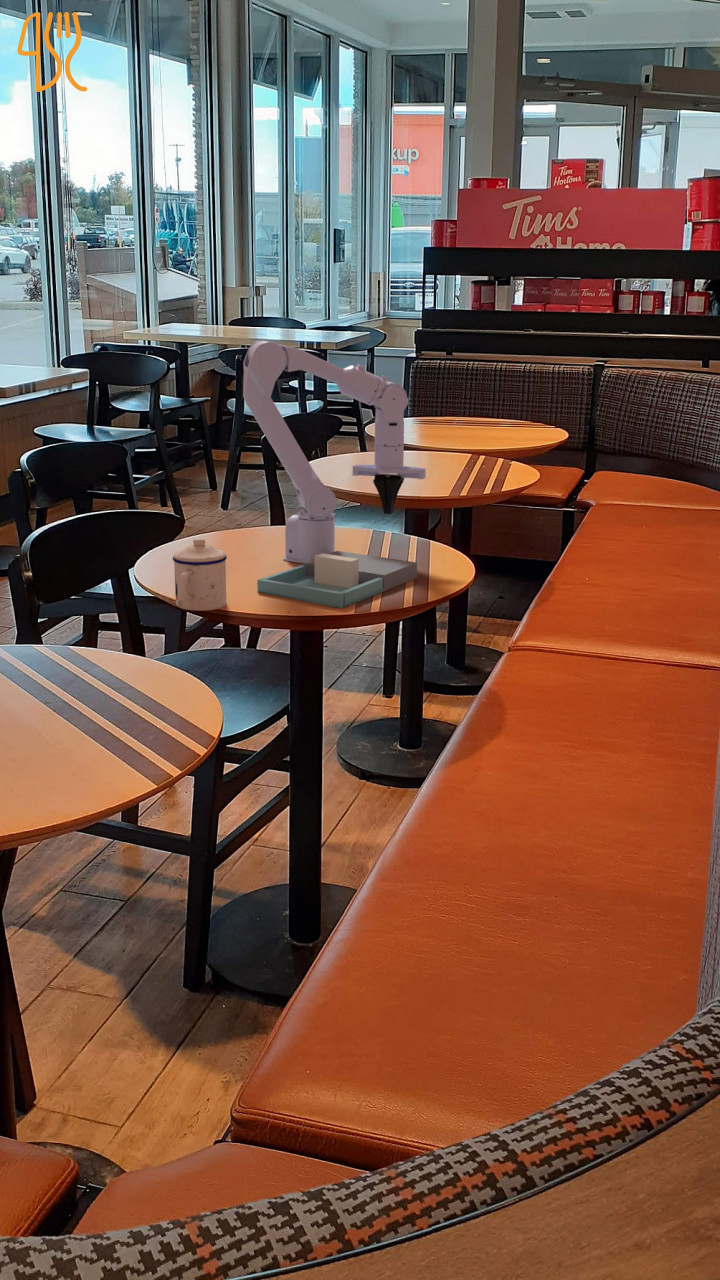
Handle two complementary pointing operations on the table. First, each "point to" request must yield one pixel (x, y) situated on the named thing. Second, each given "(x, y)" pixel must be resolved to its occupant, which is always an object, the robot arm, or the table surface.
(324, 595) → the tray
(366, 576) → the bench plate
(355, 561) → the cream tile
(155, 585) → the table surface
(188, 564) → the teacup with lid
